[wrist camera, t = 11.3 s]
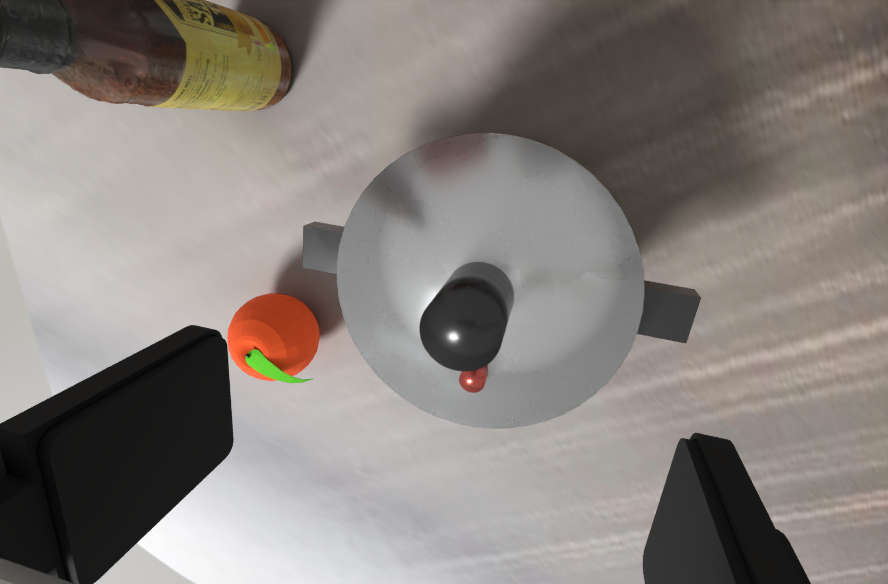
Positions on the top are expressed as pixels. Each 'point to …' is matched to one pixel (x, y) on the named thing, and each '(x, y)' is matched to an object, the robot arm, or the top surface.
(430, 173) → the lid
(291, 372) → the clementine
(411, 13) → the top surface
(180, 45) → the sauce bottle
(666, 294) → the pot
